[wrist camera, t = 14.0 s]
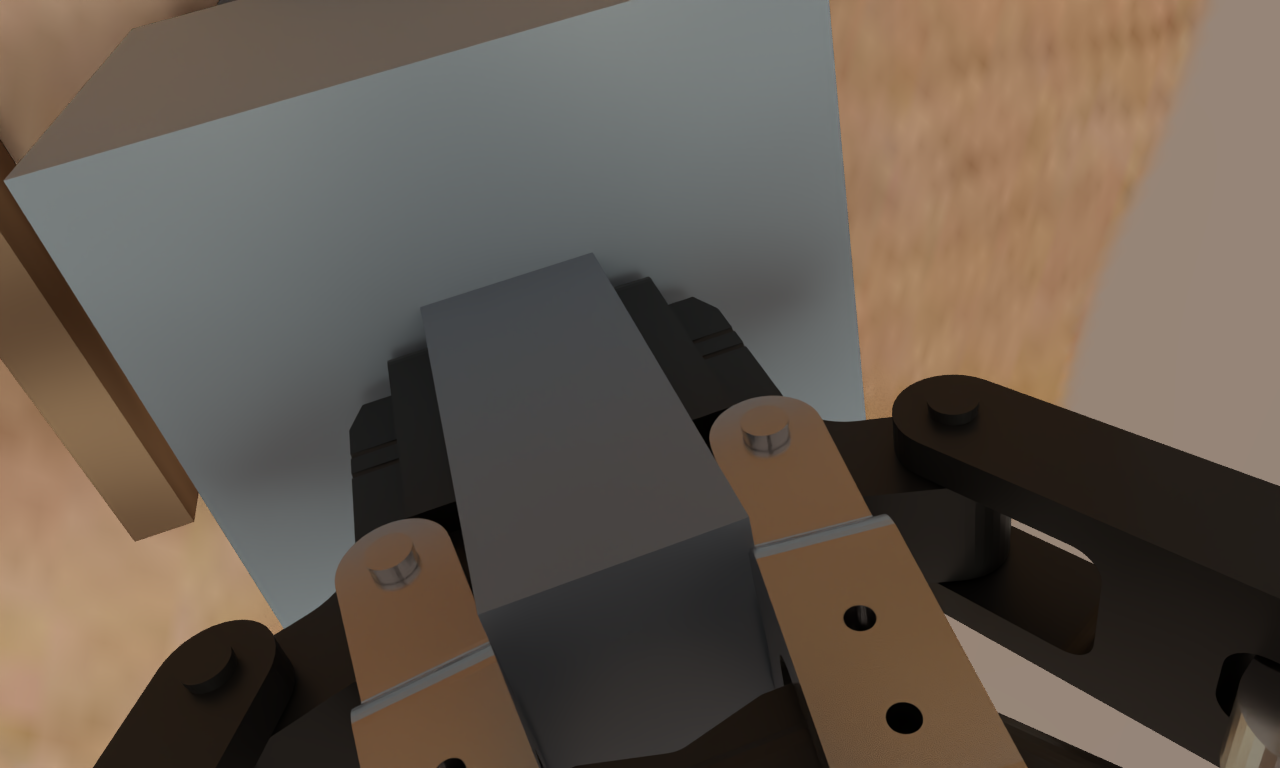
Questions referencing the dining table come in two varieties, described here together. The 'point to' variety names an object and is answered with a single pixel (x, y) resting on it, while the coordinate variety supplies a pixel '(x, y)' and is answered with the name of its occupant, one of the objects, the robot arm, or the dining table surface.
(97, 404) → the wall
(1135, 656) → the robot arm
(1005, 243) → the dining table surface
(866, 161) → the dining table surface
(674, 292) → the grey block with handle
